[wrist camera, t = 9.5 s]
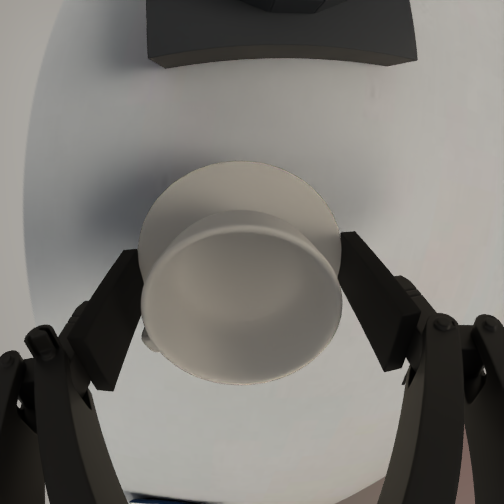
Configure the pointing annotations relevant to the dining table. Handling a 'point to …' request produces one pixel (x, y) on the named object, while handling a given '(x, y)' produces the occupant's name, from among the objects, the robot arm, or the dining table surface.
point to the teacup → (240, 273)
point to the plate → (154, 501)
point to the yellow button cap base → (280, 30)
